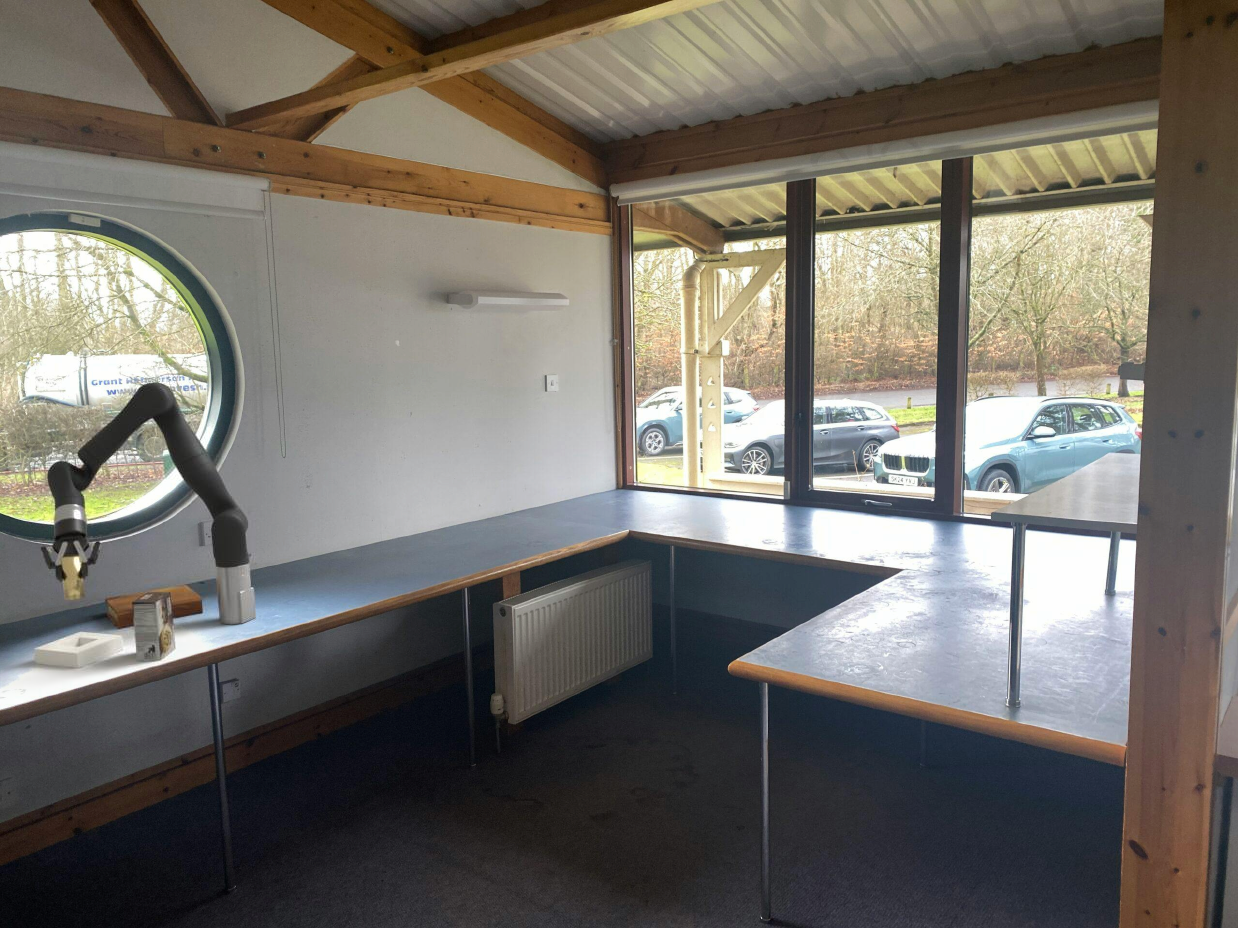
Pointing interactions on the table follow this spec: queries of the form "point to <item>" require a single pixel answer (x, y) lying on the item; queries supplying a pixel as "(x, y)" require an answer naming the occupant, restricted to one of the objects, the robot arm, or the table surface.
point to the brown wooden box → (181, 596)
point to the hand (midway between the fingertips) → (72, 578)
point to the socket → (78, 649)
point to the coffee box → (153, 626)
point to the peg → (72, 577)
